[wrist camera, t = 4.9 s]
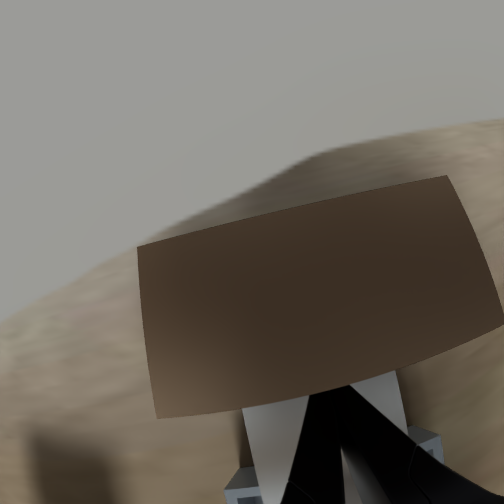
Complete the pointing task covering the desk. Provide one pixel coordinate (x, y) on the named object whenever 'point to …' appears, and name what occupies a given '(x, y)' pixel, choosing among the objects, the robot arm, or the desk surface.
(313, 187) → the desk surface
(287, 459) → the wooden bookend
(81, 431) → the desk surface
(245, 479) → the shallow blue-grey tray
